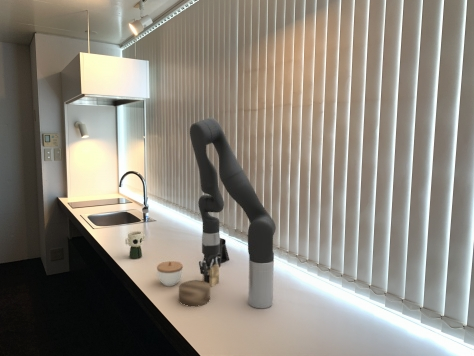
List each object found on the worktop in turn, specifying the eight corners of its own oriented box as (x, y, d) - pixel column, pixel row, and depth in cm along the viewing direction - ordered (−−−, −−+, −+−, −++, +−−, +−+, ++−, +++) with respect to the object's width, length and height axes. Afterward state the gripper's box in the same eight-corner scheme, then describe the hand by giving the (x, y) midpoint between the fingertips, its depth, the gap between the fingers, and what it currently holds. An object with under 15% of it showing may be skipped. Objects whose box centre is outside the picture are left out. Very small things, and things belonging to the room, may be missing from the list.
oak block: (209, 280, 154) (209, 262, 153) (218, 282, 151) (219, 264, 150) (202, 284, 149) (202, 266, 148) (212, 287, 147) (212, 268, 146)
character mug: (129, 261, 174) (128, 236, 173) (122, 258, 179) (121, 233, 178) (148, 256, 182) (148, 232, 180) (141, 253, 187) (141, 229, 185)
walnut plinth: (192, 289, 144) (192, 277, 144) (216, 296, 138) (216, 284, 137) (172, 301, 134) (172, 288, 133) (197, 309, 128) (197, 296, 127)
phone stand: (217, 265, 172) (217, 241, 170) (208, 262, 175) (208, 238, 174) (229, 260, 178) (229, 237, 177) (221, 257, 182) (221, 235, 181)
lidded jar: (167, 290, 143) (167, 268, 142) (152, 283, 150) (151, 262, 149) (187, 282, 151) (187, 261, 150) (172, 275, 158) (172, 255, 157)
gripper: (213, 236, 156) (213, 273, 158) (193, 244, 144) (193, 284, 146) (227, 239, 152) (227, 276, 154) (208, 248, 140) (208, 288, 142)
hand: (210, 280), depth 150 cm, fingers closed on oak block, 5 cm apart
